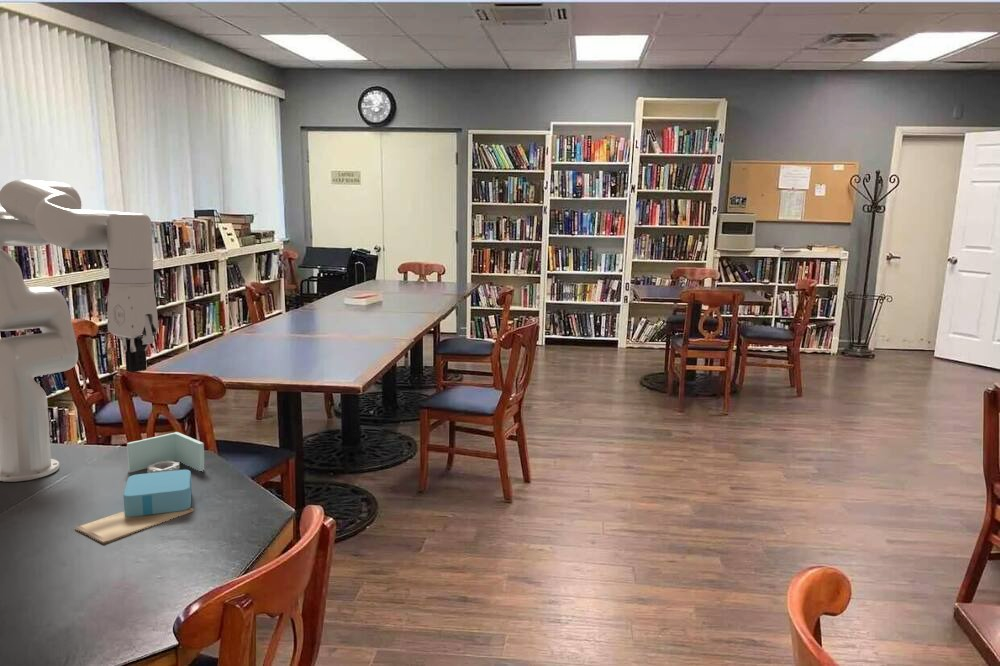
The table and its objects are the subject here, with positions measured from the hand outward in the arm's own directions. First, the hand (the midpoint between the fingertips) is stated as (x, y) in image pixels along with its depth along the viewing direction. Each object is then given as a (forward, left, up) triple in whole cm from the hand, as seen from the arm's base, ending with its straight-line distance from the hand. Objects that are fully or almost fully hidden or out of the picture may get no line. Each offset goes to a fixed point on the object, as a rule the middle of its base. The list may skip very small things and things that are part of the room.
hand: (136, 370), depth 130 cm
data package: (-4, -1, -27) cm, 27 cm away
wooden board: (+3, -3, -30) cm, 30 cm away
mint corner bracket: (-16, +15, -30) cm, 38 cm away
